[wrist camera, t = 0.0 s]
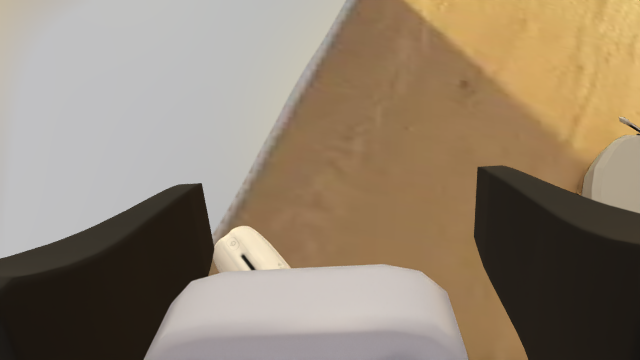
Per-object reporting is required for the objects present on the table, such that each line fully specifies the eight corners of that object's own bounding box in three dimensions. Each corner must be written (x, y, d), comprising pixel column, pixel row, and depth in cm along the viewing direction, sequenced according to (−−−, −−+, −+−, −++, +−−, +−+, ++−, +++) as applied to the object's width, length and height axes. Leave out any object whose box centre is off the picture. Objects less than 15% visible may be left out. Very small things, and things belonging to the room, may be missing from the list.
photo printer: (235, 285, 45) (193, 243, 34) (272, 255, 46) (243, 206, 35) (304, 378, 41) (282, 365, 30) (343, 343, 42) (335, 319, 31)
